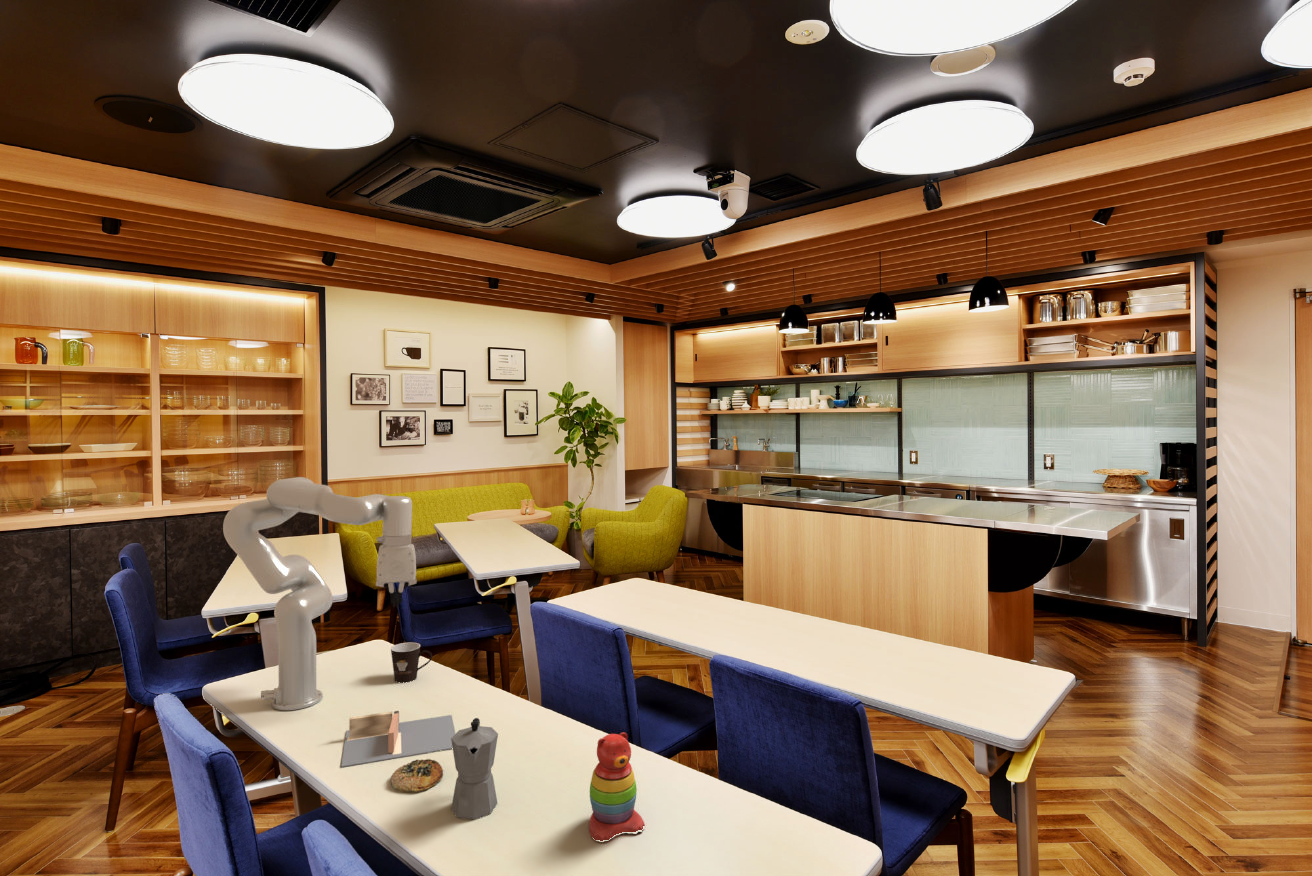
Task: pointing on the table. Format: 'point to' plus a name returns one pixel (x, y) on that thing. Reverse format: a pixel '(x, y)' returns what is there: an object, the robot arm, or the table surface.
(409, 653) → the coffee mug
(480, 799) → the coffeepot
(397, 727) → the folding fence panel
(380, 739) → the card
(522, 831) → the table surface
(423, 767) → the bread roll
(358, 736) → the fixed fence section
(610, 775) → the stacking bear
